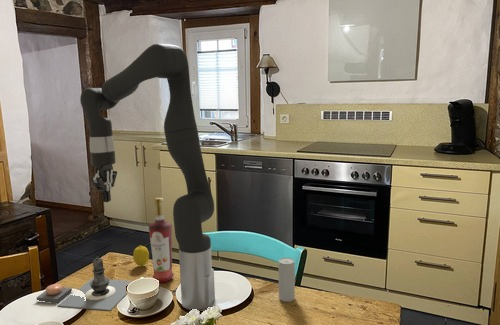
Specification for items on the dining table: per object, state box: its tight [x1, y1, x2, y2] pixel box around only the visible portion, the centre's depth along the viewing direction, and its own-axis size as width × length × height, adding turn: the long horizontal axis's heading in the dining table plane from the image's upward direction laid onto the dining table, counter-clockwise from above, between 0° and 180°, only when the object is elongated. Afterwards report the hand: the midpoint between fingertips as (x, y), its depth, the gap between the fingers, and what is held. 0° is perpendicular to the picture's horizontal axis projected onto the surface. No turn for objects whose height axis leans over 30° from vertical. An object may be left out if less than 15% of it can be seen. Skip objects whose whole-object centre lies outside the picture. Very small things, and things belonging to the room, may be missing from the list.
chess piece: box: [90, 255, 111, 297], centre depth 123 cm, size 6×6×12 cm
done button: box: [45, 283, 63, 295], centre depth 122 cm, size 4×4×3 cm
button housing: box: [36, 286, 73, 305], centre depth 123 cm, size 7×7×2 cm
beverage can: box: [277, 257, 296, 303], centre depth 118 cm, size 5×5×12 cm
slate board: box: [57, 277, 133, 312], centre depth 124 cm, size 17×18×1 cm
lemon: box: [132, 245, 150, 268], centre depth 143 cm, size 6×6×8 cm
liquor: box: [148, 197, 175, 284], centre depth 131 cm, size 7×7×28 cm
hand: (107, 201), depth 132 cm, fingers closed
